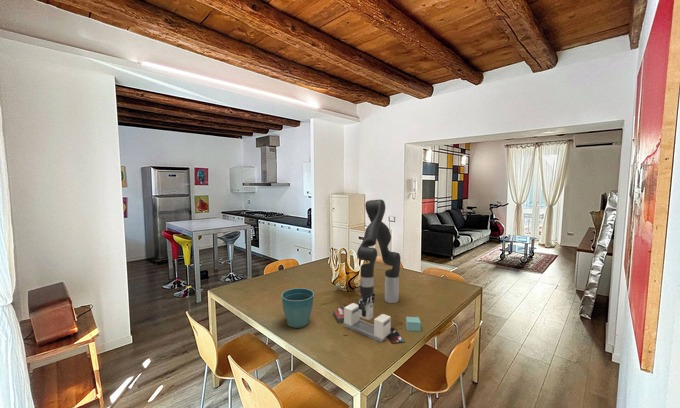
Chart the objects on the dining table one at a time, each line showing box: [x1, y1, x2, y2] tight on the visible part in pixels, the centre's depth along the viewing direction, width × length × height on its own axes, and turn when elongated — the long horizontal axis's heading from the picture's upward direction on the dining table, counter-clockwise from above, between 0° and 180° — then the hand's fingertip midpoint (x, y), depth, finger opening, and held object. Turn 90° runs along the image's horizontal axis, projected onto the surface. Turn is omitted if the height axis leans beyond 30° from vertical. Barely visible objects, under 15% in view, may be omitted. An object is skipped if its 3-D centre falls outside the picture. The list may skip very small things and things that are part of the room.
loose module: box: [360, 302, 374, 321], centre depth 154 cm, size 4×6×8 cm
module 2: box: [373, 313, 392, 339], centre depth 148 cm, size 8×5×9 cm, turn 140°
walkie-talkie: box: [333, 304, 345, 324], centre depth 172 cm, size 9×4×20 cm
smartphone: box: [386, 327, 406, 345], centre depth 150 cm, size 7×1×15 cm
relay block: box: [405, 316, 422, 332], centre depth 157 cm, size 5×6×7 cm
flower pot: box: [281, 287, 315, 329], centre depth 162 cm, size 18×18×17 cm
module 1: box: [344, 302, 361, 325], centre depth 161 cm, size 8×5×9 cm, turn 140°
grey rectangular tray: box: [342, 319, 391, 343], centre depth 155 cm, size 10×25×2 cm, turn 50°
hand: (366, 314), depth 154 cm, fingers closed on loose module, 4 cm apart
